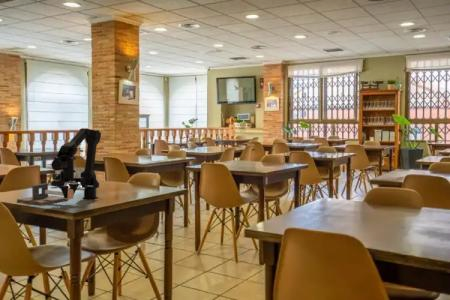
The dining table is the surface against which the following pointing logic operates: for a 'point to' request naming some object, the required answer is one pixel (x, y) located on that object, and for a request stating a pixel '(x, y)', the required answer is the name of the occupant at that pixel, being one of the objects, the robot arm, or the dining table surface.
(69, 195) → the pin
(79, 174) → the goblet set
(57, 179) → the robot arm
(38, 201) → the eye board
